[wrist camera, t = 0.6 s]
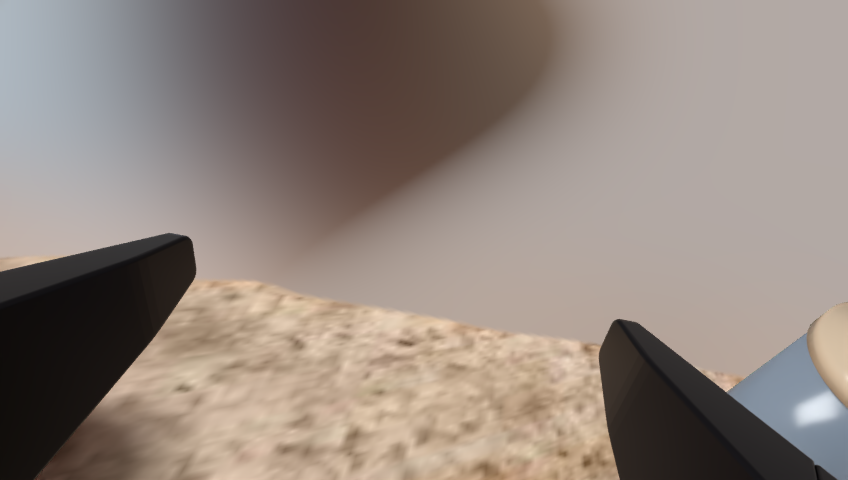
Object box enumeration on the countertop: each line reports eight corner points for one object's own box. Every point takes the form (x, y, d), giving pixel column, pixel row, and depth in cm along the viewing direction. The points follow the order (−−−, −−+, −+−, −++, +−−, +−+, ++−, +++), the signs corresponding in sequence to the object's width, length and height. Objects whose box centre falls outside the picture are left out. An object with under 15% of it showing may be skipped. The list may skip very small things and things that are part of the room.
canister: (791, 548, 20) (1113, 464, 12) (687, 566, 19) (952, 489, 11) (716, 427, 24) (913, 297, 16) (627, 437, 23) (784, 305, 15)
